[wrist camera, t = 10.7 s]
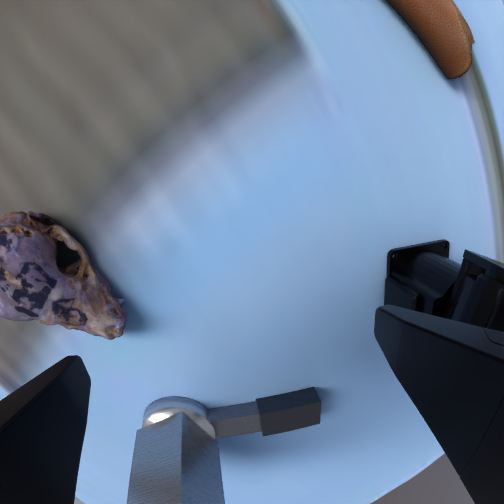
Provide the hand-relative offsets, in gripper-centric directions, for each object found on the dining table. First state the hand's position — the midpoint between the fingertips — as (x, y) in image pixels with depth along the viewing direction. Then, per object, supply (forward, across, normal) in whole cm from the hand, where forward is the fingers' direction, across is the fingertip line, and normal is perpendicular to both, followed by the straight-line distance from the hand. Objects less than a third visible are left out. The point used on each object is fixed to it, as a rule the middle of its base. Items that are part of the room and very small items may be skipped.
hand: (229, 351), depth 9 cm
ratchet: (+13, +1, +16) cm, 21 cm away
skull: (+13, +12, +1) cm, 18 cm away
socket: (+11, +6, +16) cm, 20 cm away
